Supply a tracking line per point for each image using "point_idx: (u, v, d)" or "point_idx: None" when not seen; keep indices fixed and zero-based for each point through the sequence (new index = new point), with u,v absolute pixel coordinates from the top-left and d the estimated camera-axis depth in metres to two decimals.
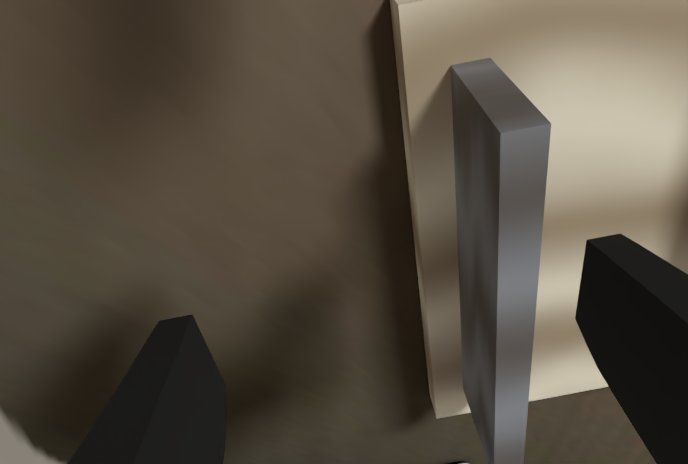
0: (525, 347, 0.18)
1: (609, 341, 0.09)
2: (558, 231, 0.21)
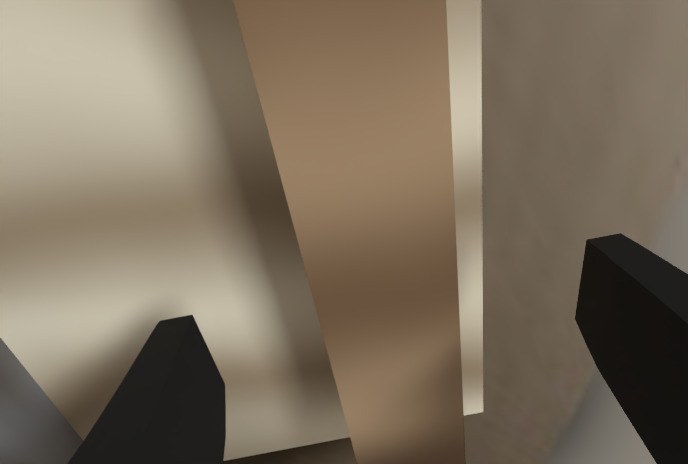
0: None
1: (609, 341, 0.09)
2: (43, 235, 0.13)
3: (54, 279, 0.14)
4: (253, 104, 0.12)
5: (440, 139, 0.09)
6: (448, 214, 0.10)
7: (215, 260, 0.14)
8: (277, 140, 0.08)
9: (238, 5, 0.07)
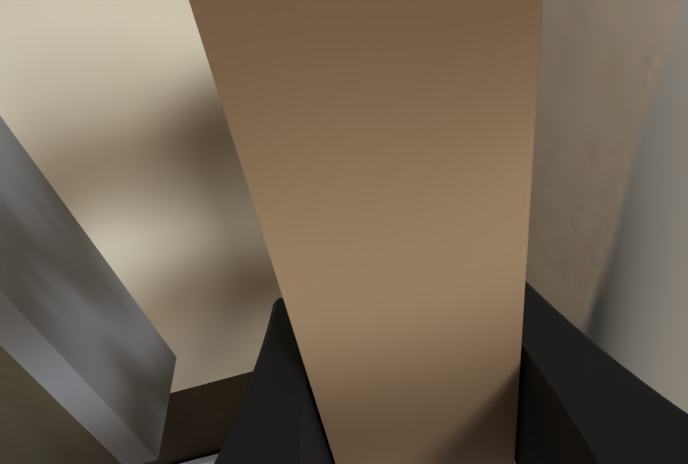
0: (0, 302, 0.14)
1: None
2: (131, 162, 0.17)
3: (140, 200, 0.18)
4: None
5: (510, 255, 0.06)
6: (512, 341, 0.07)
7: None
8: (281, 262, 0.06)
9: (222, 86, 0.05)
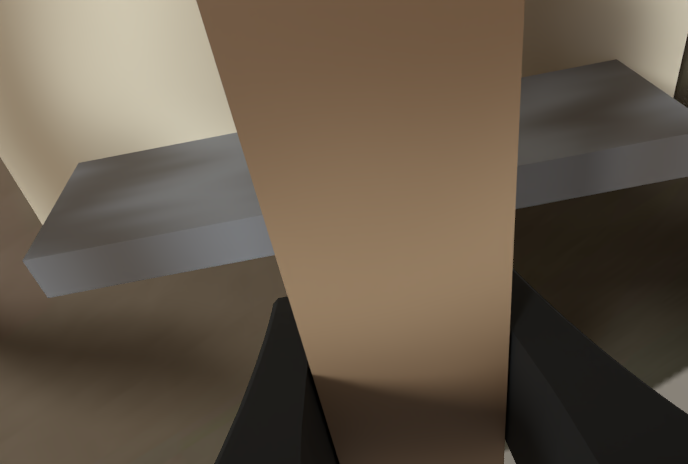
0: None
1: None
2: None
3: None
4: None
5: (498, 259, 0.07)
6: (500, 338, 0.08)
7: None
8: (287, 266, 0.06)
9: (236, 110, 0.05)
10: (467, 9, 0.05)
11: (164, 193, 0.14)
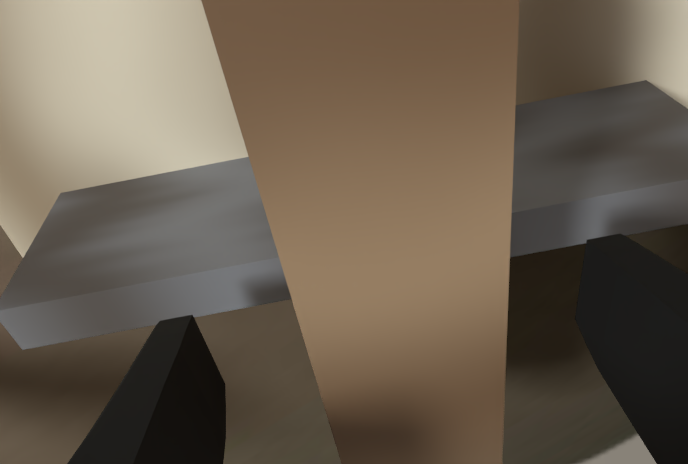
0: None
1: (609, 341, 0.09)
2: None
3: None
4: None
5: (495, 251, 0.07)
6: (498, 330, 0.08)
7: None
8: (288, 256, 0.07)
9: (237, 101, 0.05)
10: (463, 1, 0.05)
11: (152, 231, 0.13)
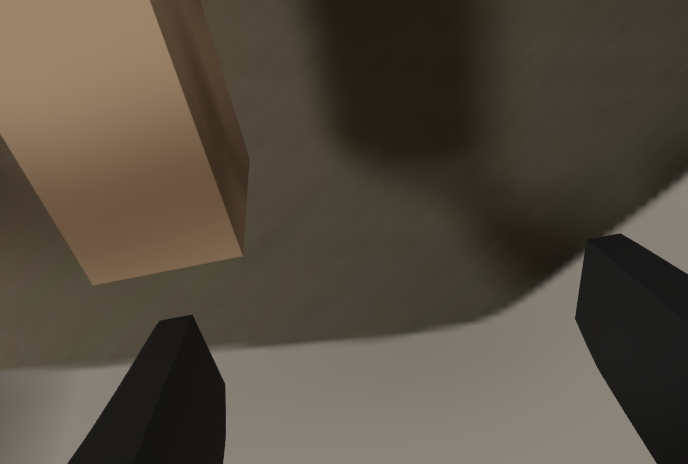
0: None
1: (609, 341, 0.09)
2: None
3: None
4: None
5: None
6: None
7: None
8: None
9: None
10: None
11: None
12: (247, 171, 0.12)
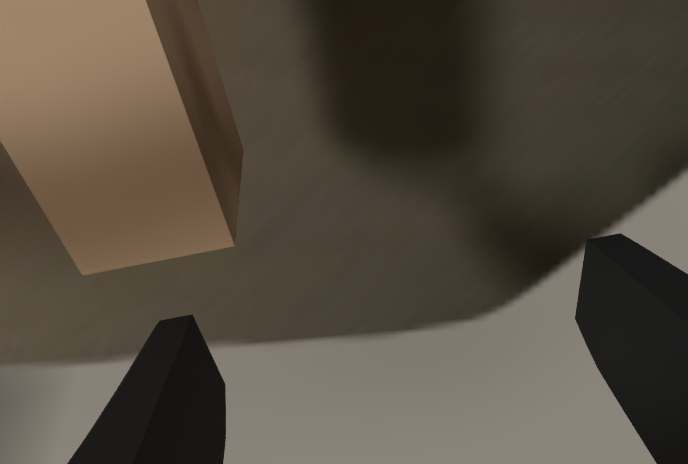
0: None
1: (609, 340, 0.09)
2: None
3: None
4: None
5: None
6: None
7: None
8: None
9: None
10: None
11: None
12: (241, 162, 0.12)
